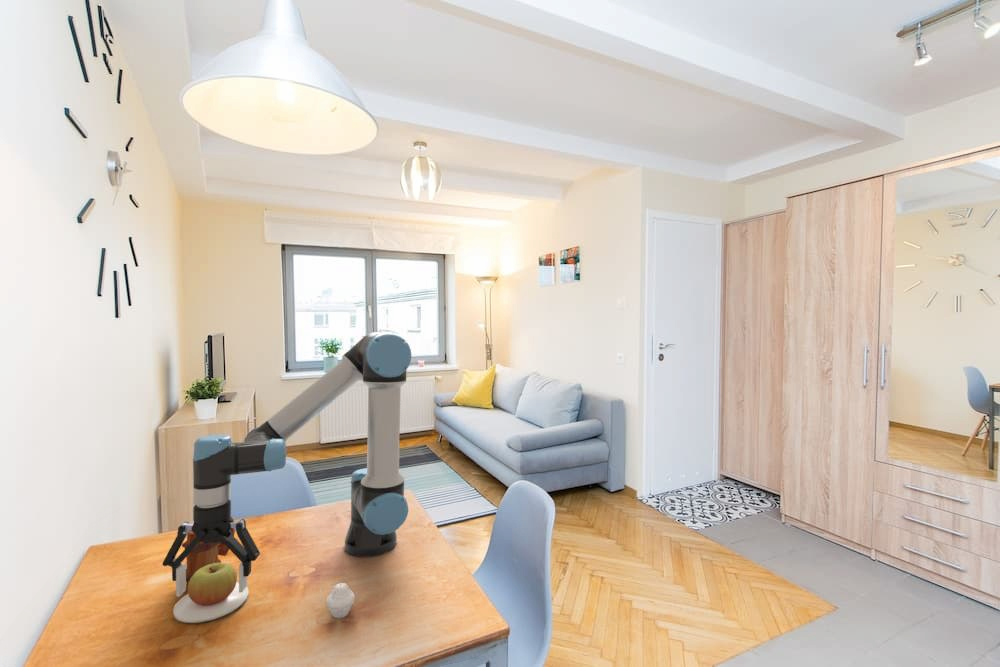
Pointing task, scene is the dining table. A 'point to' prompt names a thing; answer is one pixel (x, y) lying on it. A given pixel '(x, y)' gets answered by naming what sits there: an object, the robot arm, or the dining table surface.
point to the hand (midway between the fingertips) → (212, 591)
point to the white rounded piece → (340, 600)
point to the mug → (203, 554)
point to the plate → (208, 607)
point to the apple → (212, 583)
